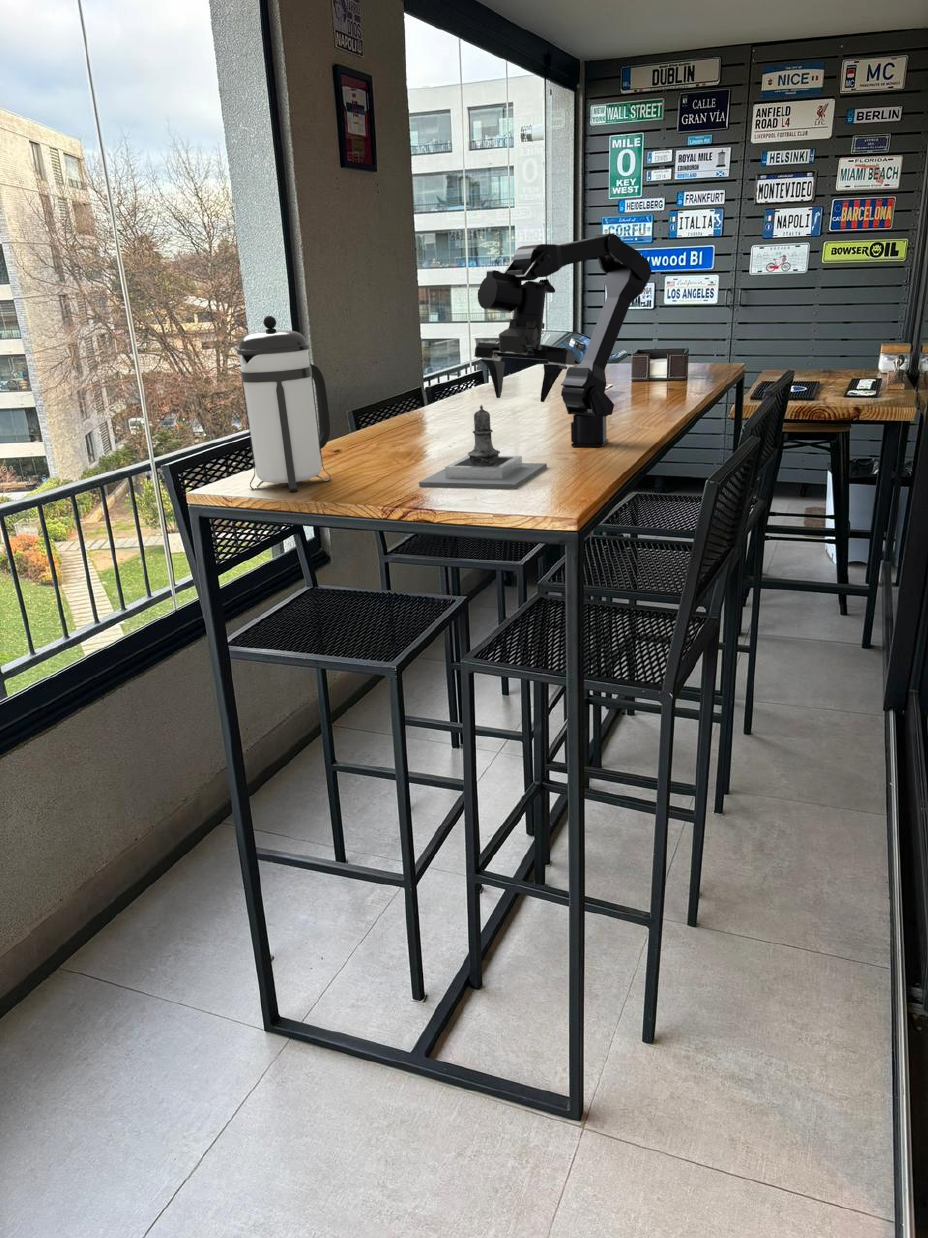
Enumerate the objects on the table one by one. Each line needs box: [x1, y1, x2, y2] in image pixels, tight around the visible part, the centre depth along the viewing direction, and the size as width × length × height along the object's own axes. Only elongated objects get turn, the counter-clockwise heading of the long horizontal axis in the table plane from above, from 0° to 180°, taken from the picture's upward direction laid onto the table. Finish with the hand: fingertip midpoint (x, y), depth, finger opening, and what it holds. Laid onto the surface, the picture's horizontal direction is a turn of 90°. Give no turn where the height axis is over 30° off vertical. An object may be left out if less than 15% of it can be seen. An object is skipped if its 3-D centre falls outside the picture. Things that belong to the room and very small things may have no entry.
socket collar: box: [444, 455, 523, 479], centre depth 164 cm, size 11×11×2 cm
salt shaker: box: [467, 404, 501, 466], centre depth 163 cm, size 6×6×12 cm
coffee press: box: [235, 315, 331, 493], centre depth 165 cm, size 17×16×30 cm
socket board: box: [418, 462, 548, 490], centre depth 165 cm, size 18×18×1 cm
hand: (520, 399), depth 175 cm, fingers open, 9 cm apart
